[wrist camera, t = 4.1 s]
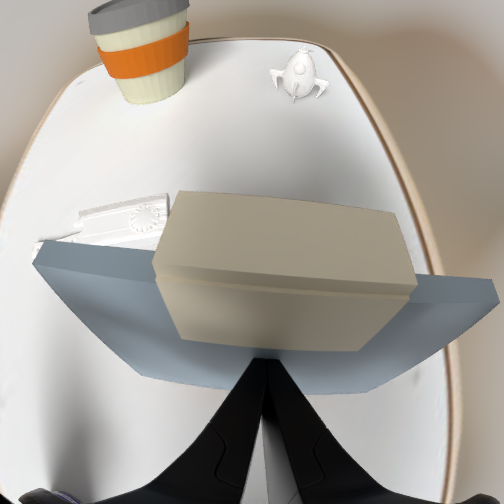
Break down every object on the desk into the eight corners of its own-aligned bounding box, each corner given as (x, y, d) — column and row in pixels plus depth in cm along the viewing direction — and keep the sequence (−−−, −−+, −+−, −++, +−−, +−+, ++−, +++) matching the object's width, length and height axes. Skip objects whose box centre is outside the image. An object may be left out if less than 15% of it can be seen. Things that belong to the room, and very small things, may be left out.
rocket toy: (291, 109, 31) (299, 55, 23) (268, 89, 33) (272, 38, 25) (324, 101, 32) (336, 52, 25) (300, 82, 34) (308, 35, 26)
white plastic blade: (44, 218, 24) (39, 213, 23) (168, 191, 25) (166, 184, 24) (35, 260, 22) (30, 255, 21) (169, 237, 23) (166, 231, 22)
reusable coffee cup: (144, 123, 29) (115, 14, 15) (98, 100, 32) (71, 18, 18) (215, 78, 33) (210, -15, 20) (161, 62, 36) (149, -14, 23)
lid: (364, 360, 14) (366, 394, 13) (148, 343, 14) (141, 377, 13) (489, 232, 6) (516, 291, 5) (56, 189, 6) (16, 248, 5)
